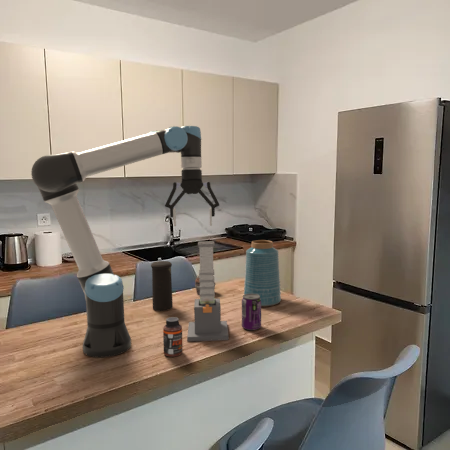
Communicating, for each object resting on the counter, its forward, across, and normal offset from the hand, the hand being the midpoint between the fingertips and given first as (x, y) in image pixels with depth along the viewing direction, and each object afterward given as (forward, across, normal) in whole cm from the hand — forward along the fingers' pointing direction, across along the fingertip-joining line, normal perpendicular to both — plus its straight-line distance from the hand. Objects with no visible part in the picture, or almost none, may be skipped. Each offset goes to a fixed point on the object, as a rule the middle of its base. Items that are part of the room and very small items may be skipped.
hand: (192, 225), depth 153 cm
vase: (+37, +29, +19) cm, 51 cm away
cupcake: (+37, +4, +33) cm, 50 cm away
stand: (+37, +5, -14) cm, 40 cm away
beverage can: (+37, +21, -11) cm, 44 cm away
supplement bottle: (+37, -6, -30) cm, 48 cm away
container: (+37, -14, +14) cm, 42 cm away
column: (+27, +5, -14) cm, 31 cm away
